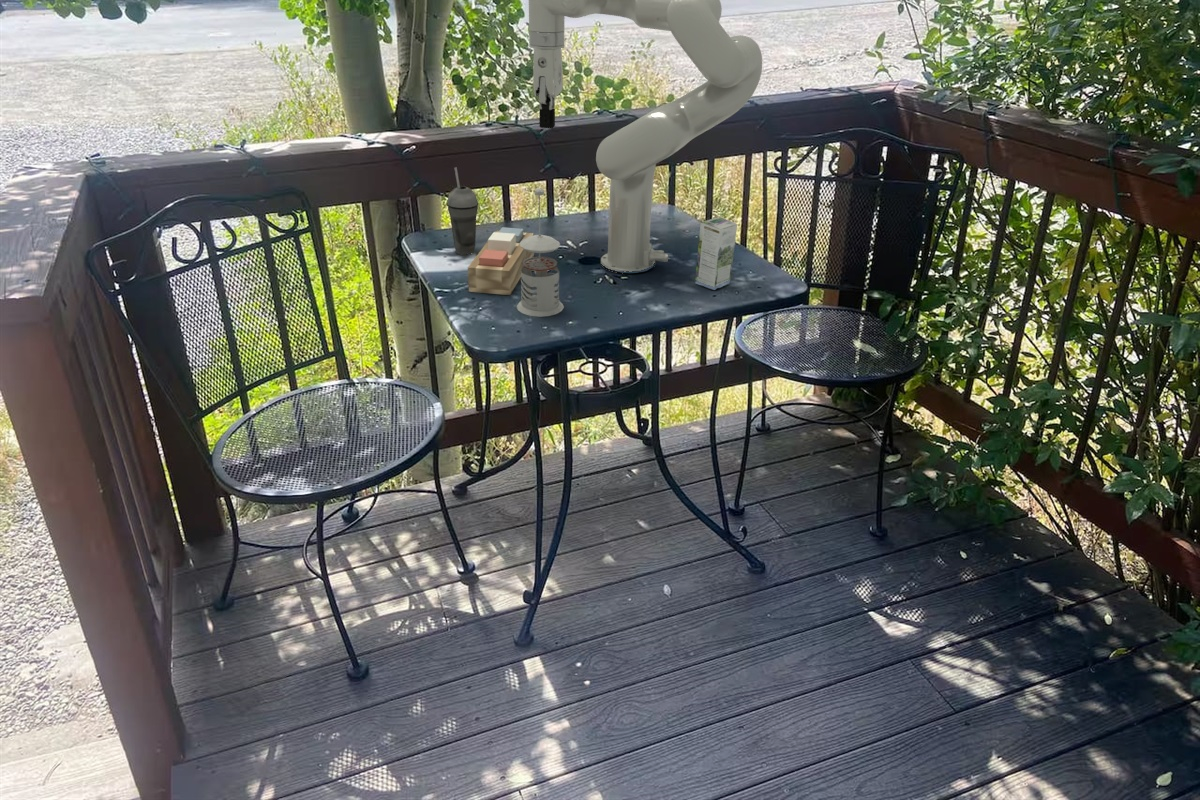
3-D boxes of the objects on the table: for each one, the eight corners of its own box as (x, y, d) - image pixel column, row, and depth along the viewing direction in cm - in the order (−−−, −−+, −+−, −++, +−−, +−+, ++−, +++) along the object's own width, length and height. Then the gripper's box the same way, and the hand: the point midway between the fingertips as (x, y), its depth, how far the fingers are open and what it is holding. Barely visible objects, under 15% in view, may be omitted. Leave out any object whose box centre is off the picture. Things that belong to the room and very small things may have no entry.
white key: (516, 250, 199) (515, 233, 197) (510, 258, 195) (510, 241, 193) (494, 249, 200) (493, 232, 198) (488, 256, 196) (488, 239, 194)
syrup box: (710, 277, 200) (716, 215, 193) (731, 285, 197) (737, 222, 189) (694, 284, 197) (699, 221, 189) (714, 292, 193) (721, 228, 186)
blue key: (523, 245, 206) (523, 228, 204) (518, 252, 202) (518, 236, 200) (502, 243, 207) (502, 227, 205) (497, 251, 203) (496, 234, 201)
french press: (525, 319, 178) (523, 198, 166) (507, 297, 188) (504, 181, 175) (571, 312, 182) (572, 193, 169) (550, 291, 191) (550, 176, 179)
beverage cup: (478, 257, 207) (474, 172, 197) (447, 256, 207) (441, 171, 197) (482, 246, 214) (479, 164, 204) (452, 245, 214) (447, 163, 204)
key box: (534, 255, 209) (533, 233, 207) (509, 295, 189) (509, 270, 186) (497, 252, 210) (496, 230, 208) (468, 291, 190) (467, 267, 187)
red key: (508, 268, 193) (507, 251, 191) (502, 277, 189) (502, 259, 187) (486, 266, 194) (485, 249, 192) (479, 275, 190) (479, 257, 188)
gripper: (557, 45, 182) (557, 136, 191) (570, 35, 195) (569, 120, 204) (521, 43, 183) (523, 134, 192) (536, 33, 196) (537, 119, 205)
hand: (547, 127), depth 198 cm, fingers closed
